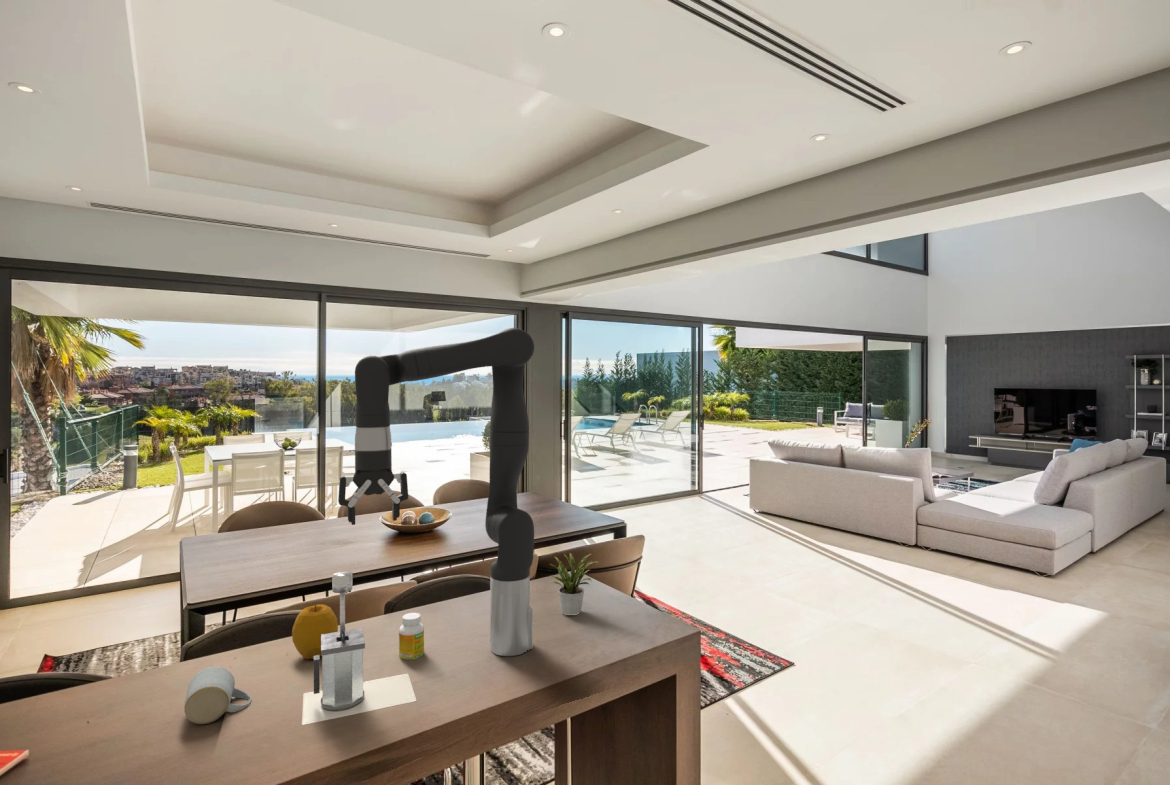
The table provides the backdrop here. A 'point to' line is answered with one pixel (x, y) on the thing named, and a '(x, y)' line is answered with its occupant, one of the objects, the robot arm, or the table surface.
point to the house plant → (571, 585)
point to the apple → (313, 629)
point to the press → (340, 670)
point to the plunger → (342, 595)
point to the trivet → (375, 697)
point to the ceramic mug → (212, 695)
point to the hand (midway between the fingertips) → (374, 522)
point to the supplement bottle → (411, 637)
